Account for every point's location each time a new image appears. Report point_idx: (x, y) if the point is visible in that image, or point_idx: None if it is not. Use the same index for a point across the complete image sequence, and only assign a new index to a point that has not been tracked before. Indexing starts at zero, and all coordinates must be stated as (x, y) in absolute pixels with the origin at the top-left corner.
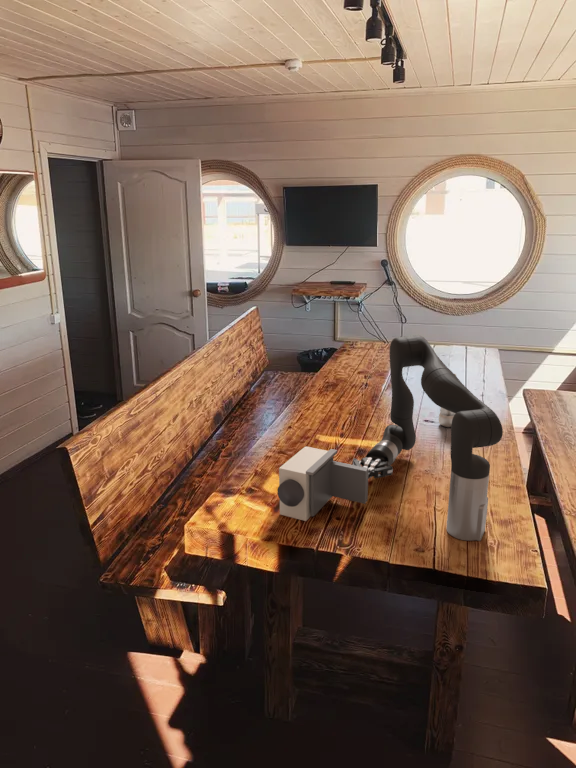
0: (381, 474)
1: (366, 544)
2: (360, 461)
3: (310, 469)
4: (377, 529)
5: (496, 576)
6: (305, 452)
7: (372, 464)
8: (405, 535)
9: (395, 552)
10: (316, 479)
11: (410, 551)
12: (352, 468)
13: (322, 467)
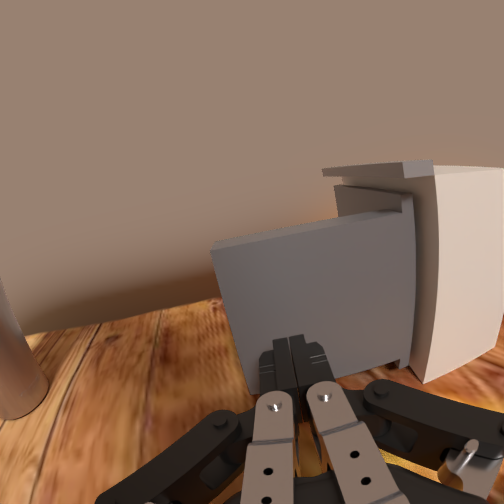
0: (202, 481)
1: (204, 314)
2: (471, 487)
3: (338, 166)
4: (192, 350)
5: (39, 335)
6: (461, 167)
7: (280, 452)
8: (130, 357)
9: (152, 321)
10: (342, 204)
11: (127, 331)
12: (283, 229)
13: (356, 188)
